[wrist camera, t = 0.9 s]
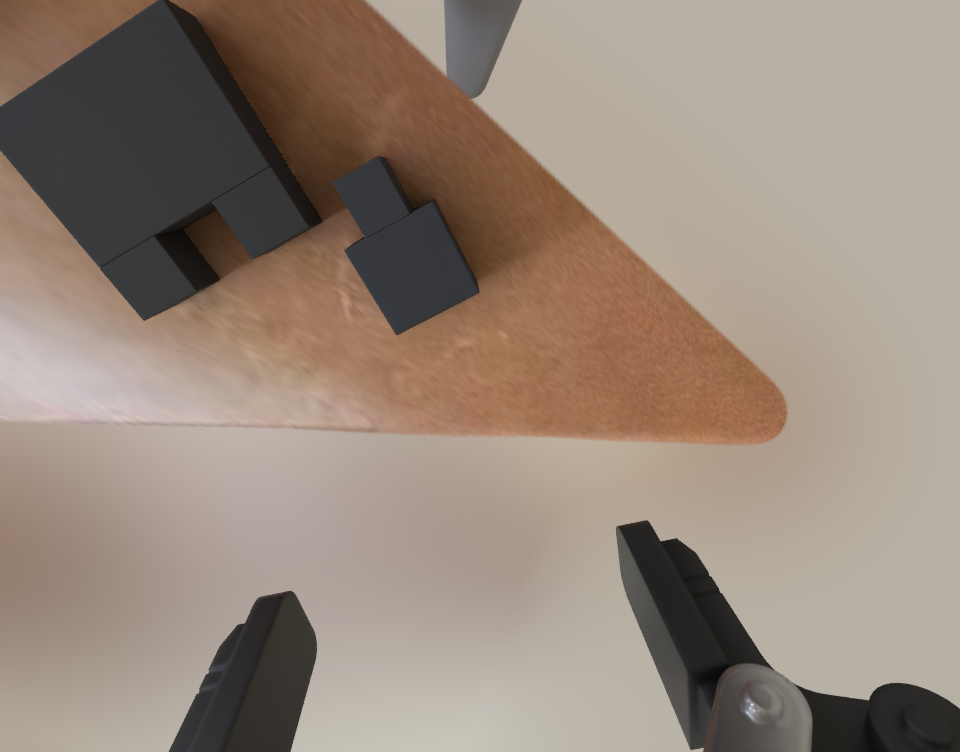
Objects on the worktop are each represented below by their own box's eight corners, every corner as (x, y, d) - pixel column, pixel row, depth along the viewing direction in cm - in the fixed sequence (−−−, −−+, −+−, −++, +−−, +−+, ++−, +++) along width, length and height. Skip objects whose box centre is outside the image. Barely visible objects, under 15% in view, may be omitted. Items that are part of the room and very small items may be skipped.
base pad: (26, 127, 27) (-25, 122, 24) (195, 15, 26) (162, -5, 23) (171, 307, 32) (143, 321, 29) (322, 221, 30) (309, 227, 27)
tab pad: (323, 193, 29) (309, 195, 27) (407, 145, 29) (402, 142, 26) (401, 321, 33) (396, 336, 30) (477, 281, 32) (480, 292, 29)
